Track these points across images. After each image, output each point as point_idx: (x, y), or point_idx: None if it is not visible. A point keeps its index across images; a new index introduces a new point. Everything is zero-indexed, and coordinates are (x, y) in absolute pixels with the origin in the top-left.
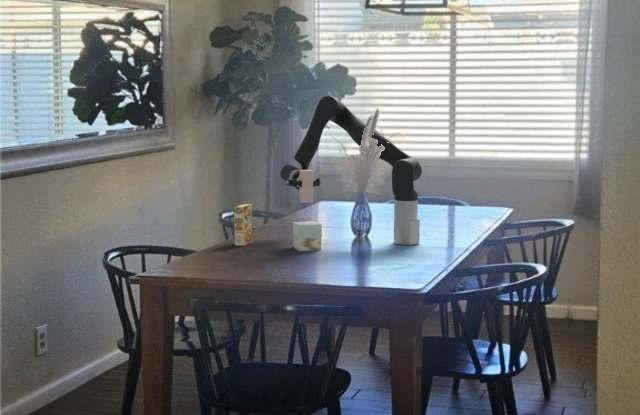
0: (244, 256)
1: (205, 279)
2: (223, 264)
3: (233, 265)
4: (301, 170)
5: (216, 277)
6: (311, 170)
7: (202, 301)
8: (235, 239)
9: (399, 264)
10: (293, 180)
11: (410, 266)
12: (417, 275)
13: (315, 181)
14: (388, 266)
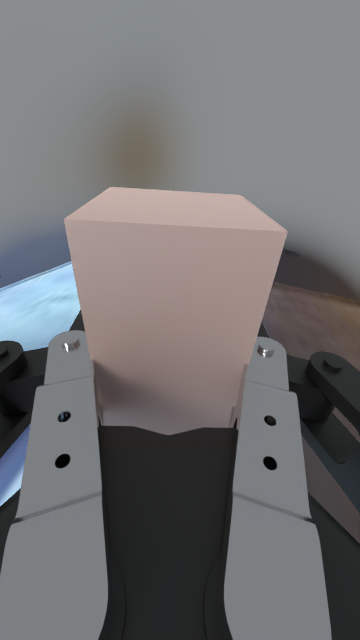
0: (346, 428)
1: (328, 296)
2: (351, 360)
3: (328, 350)
4: (244, 207)
5: (319, 301)
6: (116, 194)
7: (295, 255)
8: None
9: (46, 313)
10: (318, 355)
11: (41, 302)
12: (73, 273)
13: (80, 318)
14: (73, 306)
